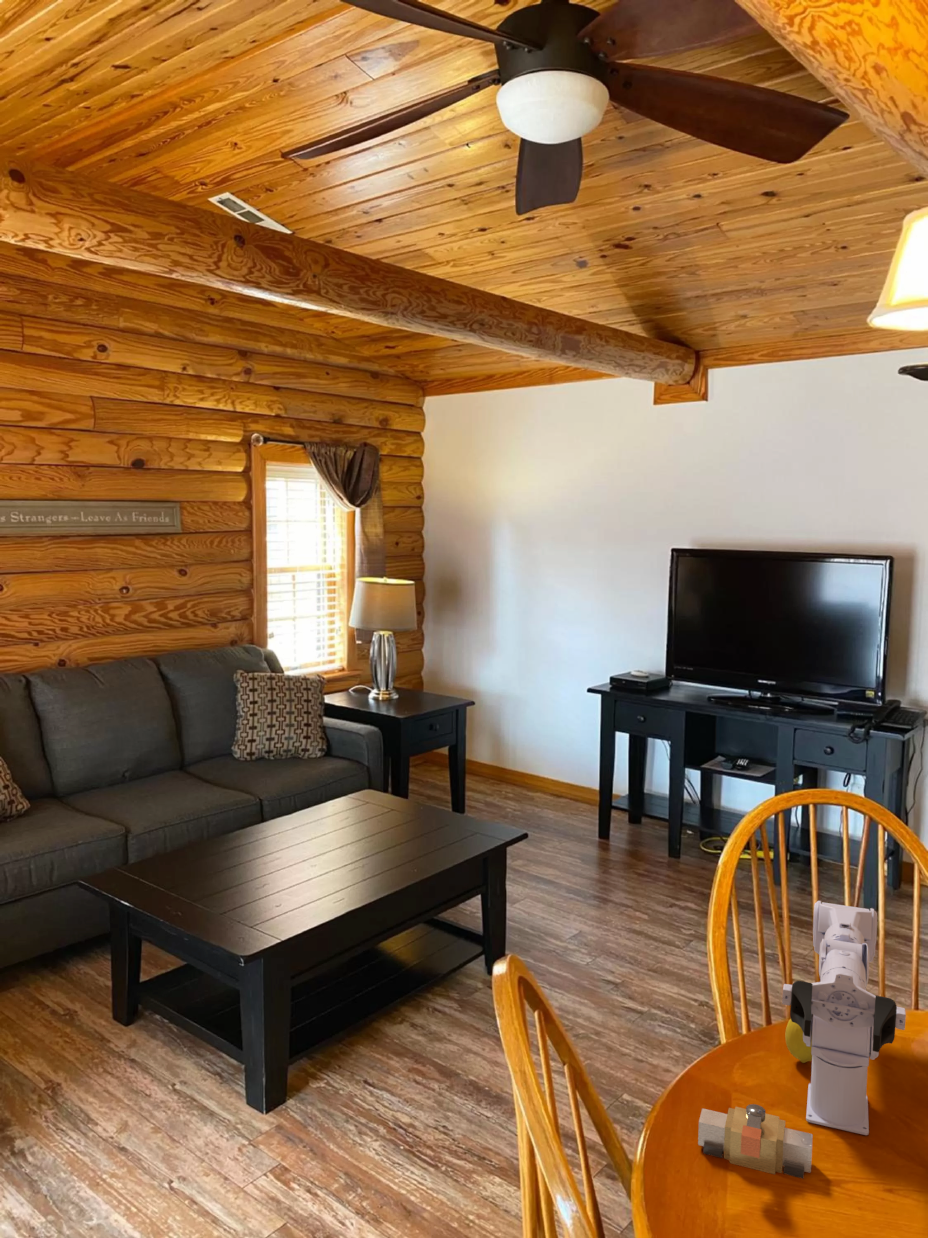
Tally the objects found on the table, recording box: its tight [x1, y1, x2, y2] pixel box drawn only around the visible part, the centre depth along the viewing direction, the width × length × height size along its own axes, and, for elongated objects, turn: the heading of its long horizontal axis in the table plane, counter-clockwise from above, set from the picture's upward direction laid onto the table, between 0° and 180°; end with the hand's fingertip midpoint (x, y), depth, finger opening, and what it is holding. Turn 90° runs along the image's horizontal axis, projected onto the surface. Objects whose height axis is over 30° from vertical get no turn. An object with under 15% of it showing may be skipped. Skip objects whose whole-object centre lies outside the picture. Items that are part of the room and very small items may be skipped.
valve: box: [697, 1106, 814, 1179], centre depth 121 cm, size 6×14×5 cm, turn 68°
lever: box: [741, 1103, 766, 1158], centre depth 118 cm, size 8×2×2 cm, turn 158°
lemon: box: [784, 1018, 812, 1064], centre depth 143 cm, size 6×6×8 cm
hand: (841, 1036), depth 111 cm, fingers open, 7 cm apart
